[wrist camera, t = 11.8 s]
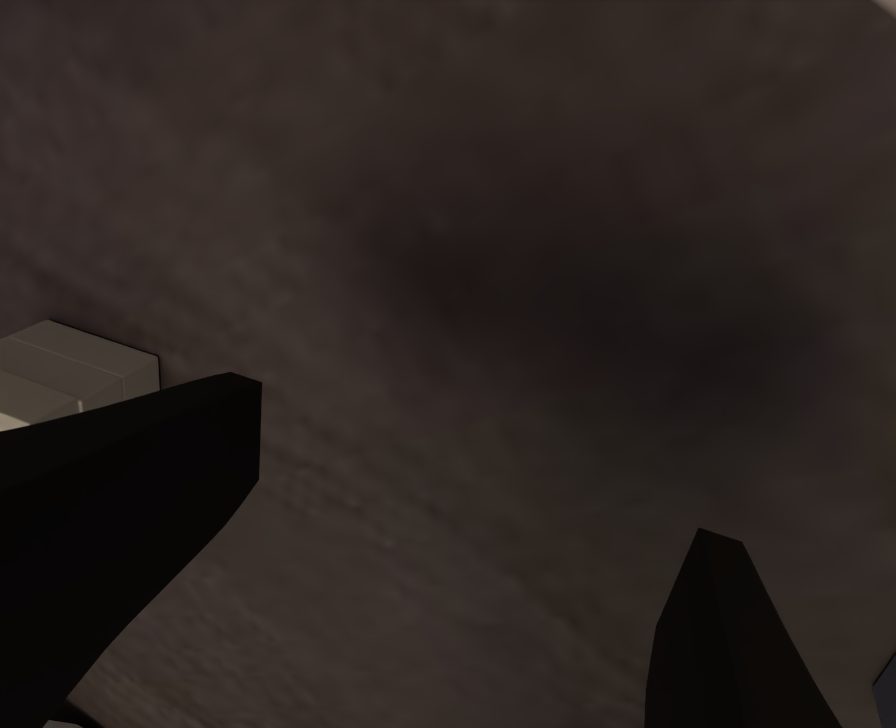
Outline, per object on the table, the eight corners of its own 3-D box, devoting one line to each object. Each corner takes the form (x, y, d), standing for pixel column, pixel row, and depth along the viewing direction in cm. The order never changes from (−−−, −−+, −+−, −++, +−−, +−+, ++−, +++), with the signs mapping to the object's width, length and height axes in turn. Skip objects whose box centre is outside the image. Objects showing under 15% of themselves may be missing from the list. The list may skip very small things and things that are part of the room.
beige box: (98, 580, 25) (59, 615, 24) (-8, 534, 26) (-53, 565, 25) (77, 396, 22) (29, 424, 20) (-47, 351, 23) (-102, 374, 21)
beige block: (167, 525, 28) (101, 584, 25) (69, 485, 30) (-5, 537, 26) (159, 355, 25) (80, 401, 22) (46, 318, 26) (-43, 356, 23)
